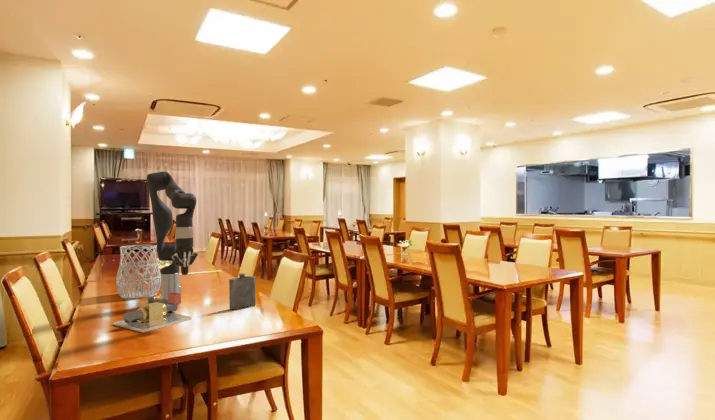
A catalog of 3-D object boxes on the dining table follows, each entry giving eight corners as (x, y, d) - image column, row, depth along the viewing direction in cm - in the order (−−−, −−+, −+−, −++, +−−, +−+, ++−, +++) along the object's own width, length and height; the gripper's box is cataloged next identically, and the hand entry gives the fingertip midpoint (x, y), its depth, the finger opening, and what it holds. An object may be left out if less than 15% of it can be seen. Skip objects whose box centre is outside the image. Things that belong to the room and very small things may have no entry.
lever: (145, 300, 195) (145, 290, 194) (153, 299, 198) (152, 288, 198) (174, 306, 183) (174, 294, 183) (181, 304, 186) (181, 293, 186)
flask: (228, 308, 219) (227, 274, 219) (253, 304, 228) (253, 271, 228) (230, 310, 216) (230, 275, 216) (256, 305, 225) (256, 272, 225)
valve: (162, 313, 211) (161, 294, 211) (191, 319, 199) (191, 299, 199) (113, 324, 190) (113, 303, 190) (143, 332, 178) (142, 310, 178)
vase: (127, 291, 265) (126, 244, 264) (166, 290, 267) (166, 243, 267) (108, 300, 241) (107, 248, 240) (152, 299, 243) (151, 247, 243)
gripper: (191, 235, 198) (191, 272, 198) (166, 237, 187) (166, 276, 187) (201, 236, 194) (202, 273, 194) (176, 238, 183) (177, 277, 183)
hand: (184, 274), depth 191 cm, fingers closed
